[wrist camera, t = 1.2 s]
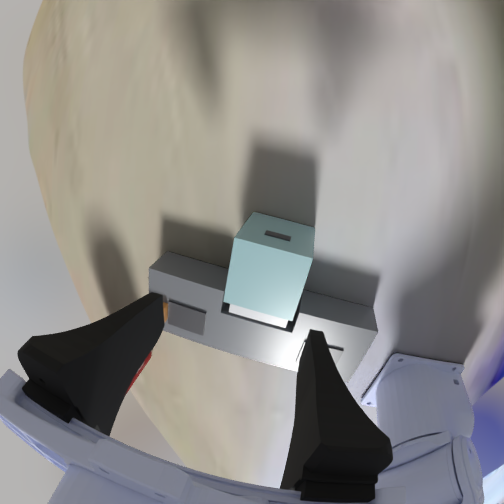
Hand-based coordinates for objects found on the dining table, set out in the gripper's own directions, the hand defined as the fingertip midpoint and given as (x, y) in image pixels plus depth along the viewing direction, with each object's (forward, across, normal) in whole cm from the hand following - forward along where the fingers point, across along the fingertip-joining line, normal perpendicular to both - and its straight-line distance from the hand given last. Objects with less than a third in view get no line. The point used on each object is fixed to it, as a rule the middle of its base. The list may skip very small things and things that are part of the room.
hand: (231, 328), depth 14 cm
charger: (+10, -1, +1) cm, 10 cm away
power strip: (+10, -1, +6) cm, 12 cm away
